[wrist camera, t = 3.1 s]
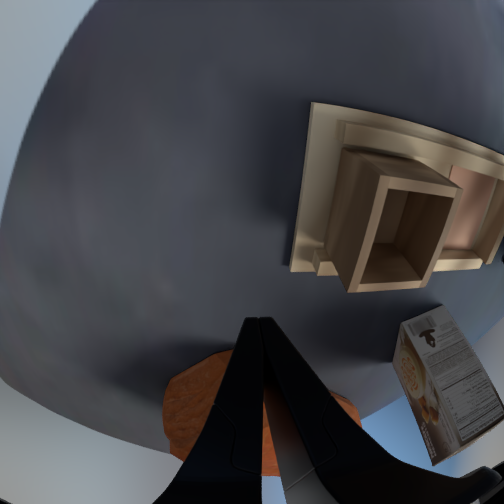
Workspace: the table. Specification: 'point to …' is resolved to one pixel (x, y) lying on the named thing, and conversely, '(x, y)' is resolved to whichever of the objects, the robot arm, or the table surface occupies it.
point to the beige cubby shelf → (409, 146)
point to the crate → (388, 221)
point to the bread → (199, 405)
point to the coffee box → (445, 384)
